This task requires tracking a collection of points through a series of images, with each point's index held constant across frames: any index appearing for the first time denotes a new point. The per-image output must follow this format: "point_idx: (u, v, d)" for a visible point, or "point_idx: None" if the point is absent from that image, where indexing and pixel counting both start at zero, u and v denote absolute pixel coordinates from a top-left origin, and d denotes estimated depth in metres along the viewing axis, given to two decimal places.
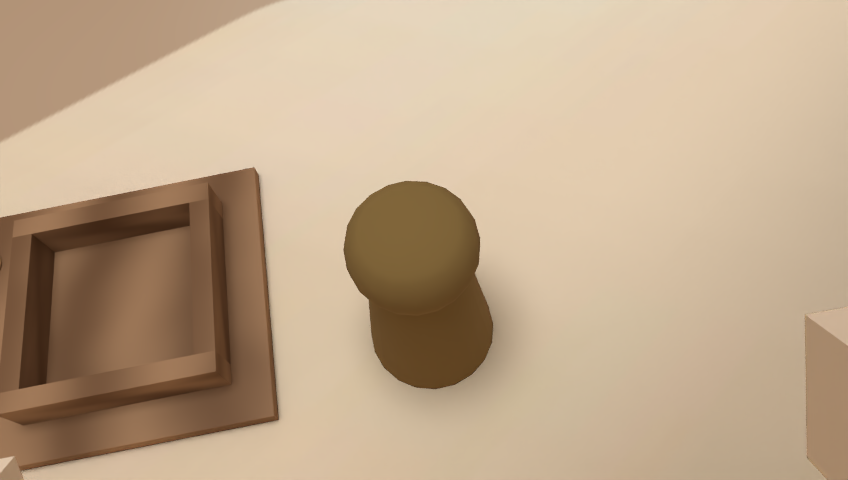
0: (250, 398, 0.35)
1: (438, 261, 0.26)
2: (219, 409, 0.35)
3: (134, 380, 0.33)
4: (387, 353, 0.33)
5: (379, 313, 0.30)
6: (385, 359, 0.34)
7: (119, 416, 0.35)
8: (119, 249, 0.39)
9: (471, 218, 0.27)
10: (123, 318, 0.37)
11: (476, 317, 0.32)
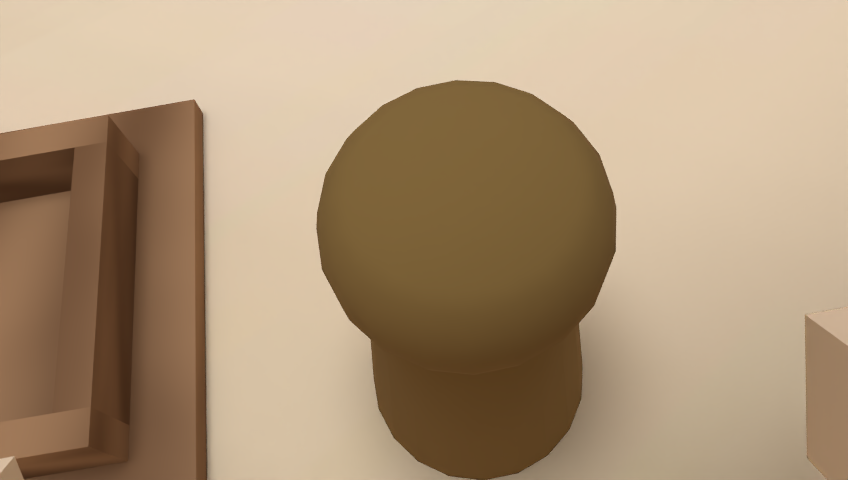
0: None
1: (536, 256, 0.11)
2: None
3: None
4: (401, 421, 0.18)
5: (389, 357, 0.15)
6: (397, 428, 0.19)
7: None
8: None
9: (601, 163, 0.12)
10: None
11: (571, 364, 0.17)
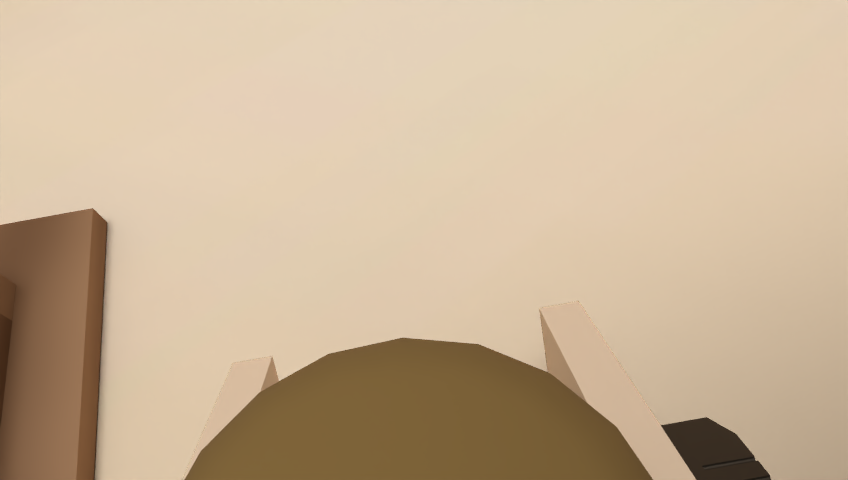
0: None
1: None
2: None
3: None
4: None
5: None
6: None
7: None
8: None
9: None
10: None
11: None
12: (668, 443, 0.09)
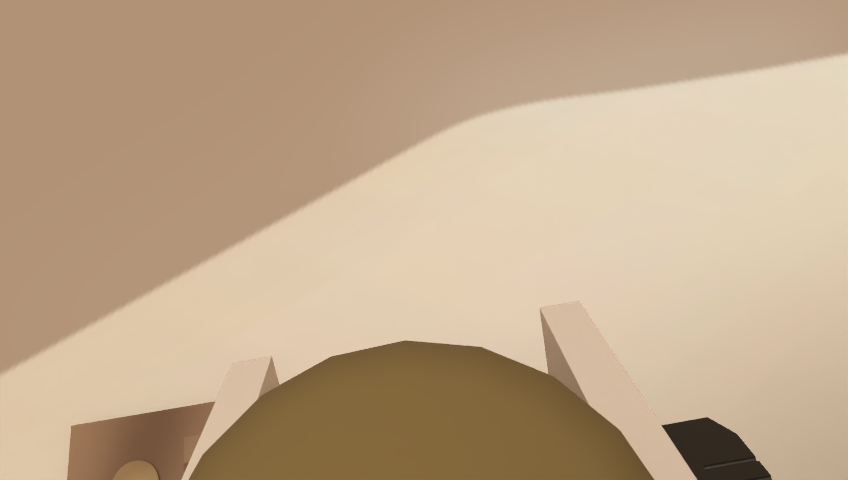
0: None
1: None
2: None
3: None
4: None
5: None
6: None
7: None
8: None
9: None
10: None
11: None
12: (668, 443, 0.09)
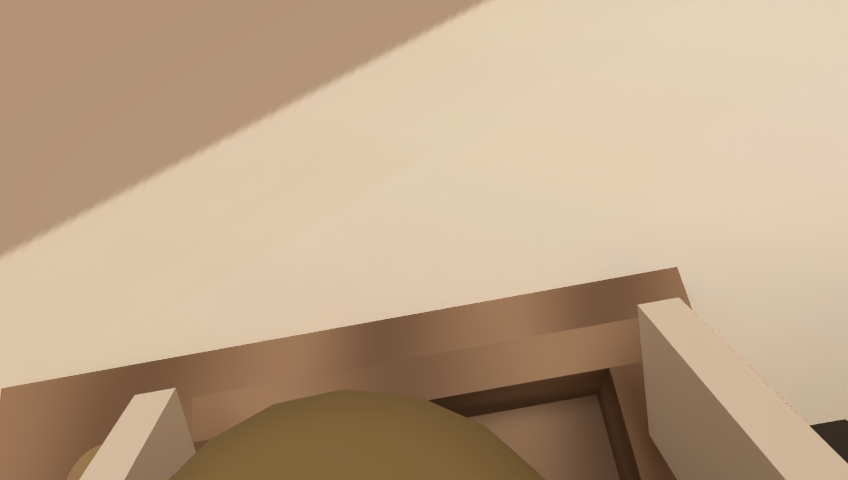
0: None
1: None
2: None
3: None
4: None
5: None
6: None
7: None
8: None
9: None
10: None
11: None
12: (826, 447, 0.09)
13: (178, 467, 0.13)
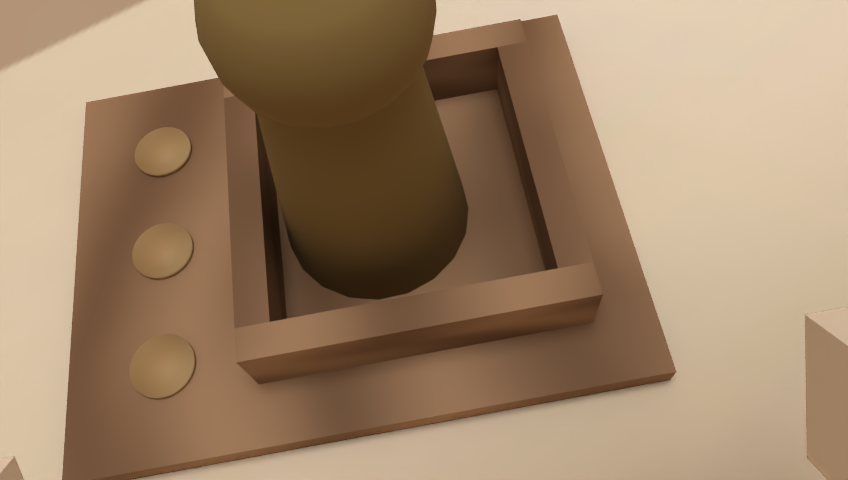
0: (629, 344, 0.22)
1: (352, 2, 0.14)
2: (581, 361, 0.21)
3: (465, 308, 0.20)
4: (301, 237, 0.21)
5: (273, 149, 0.18)
6: (300, 251, 0.22)
7: (416, 371, 0.22)
8: None
9: None
10: None
11: (437, 174, 0.20)
12: None
13: None
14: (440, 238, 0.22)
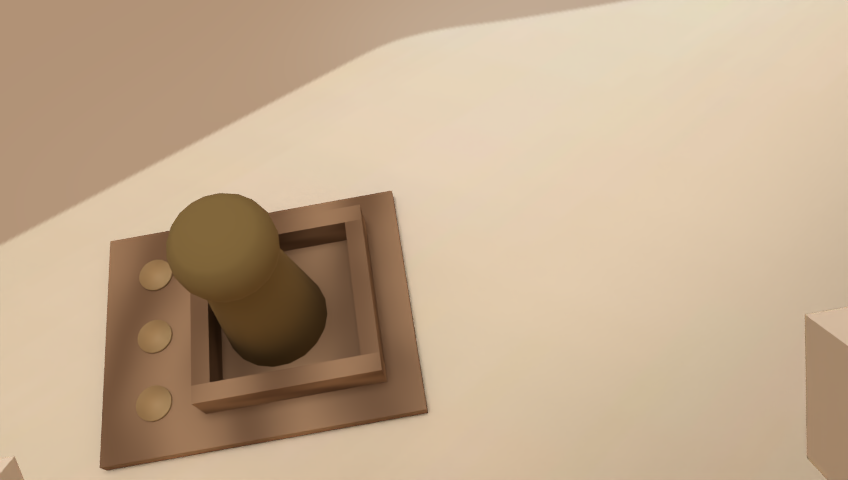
0: (404, 393, 0.40)
1: (232, 258, 0.32)
2: (378, 403, 0.40)
3: (310, 376, 0.39)
4: (228, 336, 0.40)
5: (208, 301, 0.37)
6: (229, 341, 0.41)
7: (290, 407, 0.40)
8: None
9: (268, 224, 0.34)
10: None
11: (296, 306, 0.39)
12: None
13: None
14: (304, 335, 0.40)
